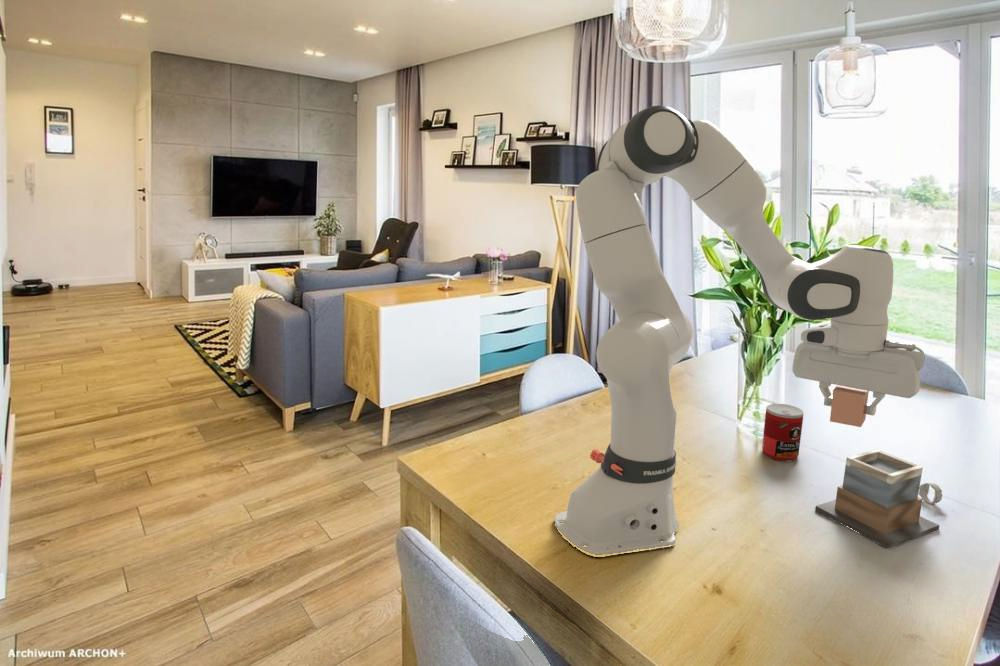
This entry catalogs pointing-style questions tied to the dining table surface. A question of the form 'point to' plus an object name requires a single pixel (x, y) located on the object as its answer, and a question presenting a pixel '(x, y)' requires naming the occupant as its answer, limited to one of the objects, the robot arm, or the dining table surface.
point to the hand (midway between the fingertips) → (848, 409)
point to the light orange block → (848, 405)
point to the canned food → (782, 432)
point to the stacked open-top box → (880, 499)
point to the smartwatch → (925, 489)
